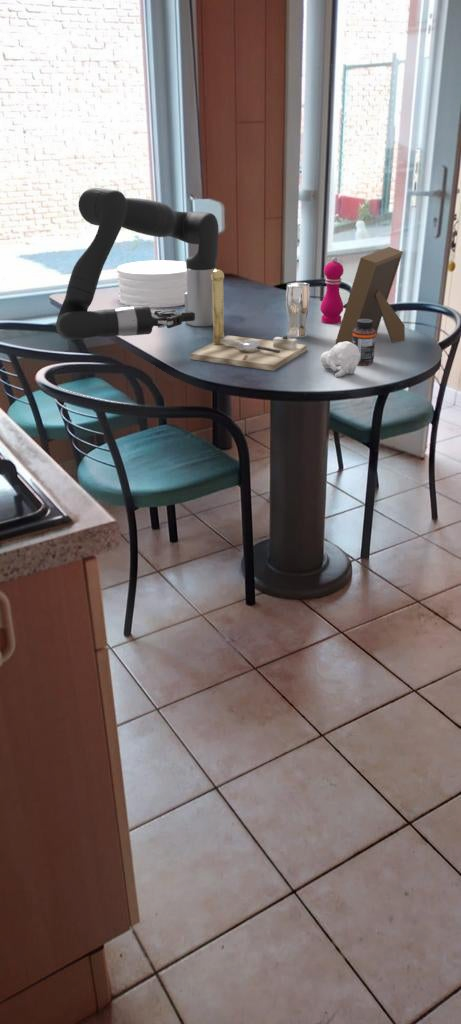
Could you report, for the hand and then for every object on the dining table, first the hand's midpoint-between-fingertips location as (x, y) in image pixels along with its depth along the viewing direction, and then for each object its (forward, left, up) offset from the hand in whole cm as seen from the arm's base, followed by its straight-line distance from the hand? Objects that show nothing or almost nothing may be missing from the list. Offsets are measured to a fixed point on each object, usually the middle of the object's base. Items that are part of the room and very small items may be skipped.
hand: (193, 316), depth 213 cm
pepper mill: (+21, +50, -10) cm, 55 cm away
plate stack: (-48, +56, -10) cm, 74 cm away
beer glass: (+18, +29, -10) cm, 36 cm away
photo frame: (+41, +32, -10) cm, 53 cm away
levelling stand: (+15, +4, -10) cm, 18 cm away
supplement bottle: (+45, +10, -10) cm, 48 cm away
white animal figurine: (+42, -1, -10) cm, 44 cm away
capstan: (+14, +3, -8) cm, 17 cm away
